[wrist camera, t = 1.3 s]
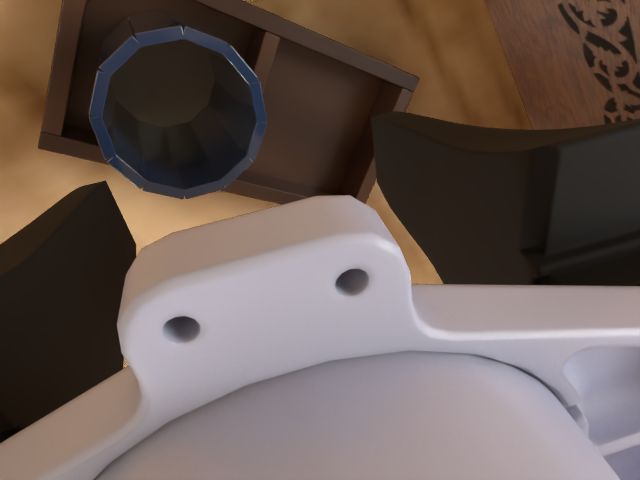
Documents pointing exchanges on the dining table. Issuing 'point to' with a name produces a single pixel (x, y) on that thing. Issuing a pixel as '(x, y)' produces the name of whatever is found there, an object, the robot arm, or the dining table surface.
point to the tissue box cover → (572, 59)
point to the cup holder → (277, 88)
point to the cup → (175, 106)
